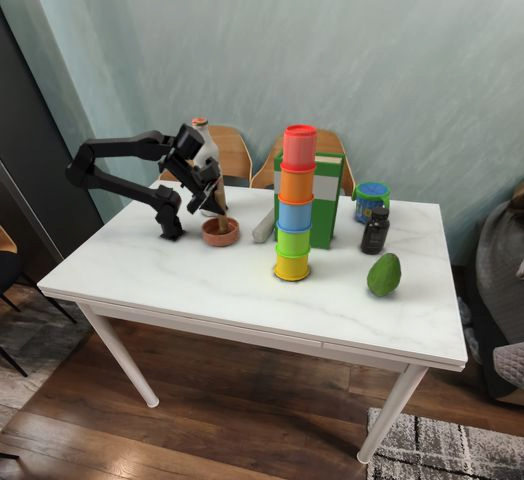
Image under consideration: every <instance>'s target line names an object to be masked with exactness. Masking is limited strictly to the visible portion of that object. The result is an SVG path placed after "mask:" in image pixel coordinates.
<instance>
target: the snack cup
mask: <svg viewBox="0 0 524 480" xmlns="http://www.w3.org/2000/svg"><path fill="white" fill-rule="evenodd" d="M390 194H391V188H390V186H388V185H387V184H384V183H382V182H379V181H364V182H361V183H359V184H357V185H355V187H354V189H353V190H352V194H351V198H350V199H351V201H352V202H355V215H354V216H355V217H354V218H355V219H356V220H357V221H358V222H360V223H362V224H365V223H366V220H367V219H368V218H370V217H371V213H372V209H373V208H375V207H385V208H387V209H389V210H390V209H391V201H390Z"/></svg>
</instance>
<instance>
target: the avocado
mask: <svg viewBox="0 0 524 480" xmlns="http://www.w3.org/2000/svg"><path fill="white" fill-rule="evenodd" d="M401 278H402V267H401V260H400V258H399V257H398V255H397V254H396V253H393V252H386V253H384V254H382V255H381V256H380V257H379V258H378V259H377V260H376V262H375V263H374V264H372V266H371V267H370V269H369V270H368V273H367V276H366V284H367V288H368V289H369V291H370V293H371V294H372V295H375V296H378V297H384V296H387V295H389V294H391V293H392V292H394V291H395V289H397V288H398V286H399V284H400V282H401Z"/></svg>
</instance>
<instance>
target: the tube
mask: <svg viewBox="0 0 524 480" xmlns="http://www.w3.org/2000/svg"><path fill="white" fill-rule="evenodd" d="M274 230H275V228H274V207H272V209H270V210H269V212H268V213H267V214H266V215H265V216H264V217H263V219H262V220H261V221H260V222H259V224H257V226H256V227H255V228H254V229H253V230H252V238H253V240H254V241H255V242H256V243H264V241H266V239H267V238H268V237H269V236H270V235H271V233H272V232H273V231H274Z"/></svg>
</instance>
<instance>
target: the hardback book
mask: <svg viewBox="0 0 524 480" xmlns="http://www.w3.org/2000/svg"><path fill="white" fill-rule="evenodd" d="M346 156H347V155H346V153H338V152H324V151H316V152H315V164H316V169H315V170H314V179H313V191H312V193H313V194H314V200H313V201H312V208H311V222H312V227H311V229H310V236H309V245H310V246H311V248H317V249H323V250H329V249H330V242H331V239H333V238H334V233H335V227H336V221H337V214H338V208H339V200H340V195H341V189H342V188H341V187H342V183H343V181H342V180H343V174H344V169H345V162H346ZM282 162H283V148H281V150H280V151H279V152H278V153H277V154H276V155H275V156H274V157H273V205H274V206H273V208H274V242H278V227H277V221H278V220H279V204H280V200H279V199H278V195H279V193H280V192H281V171H282V169H281V167H280V164H281V163H282Z"/></svg>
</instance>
